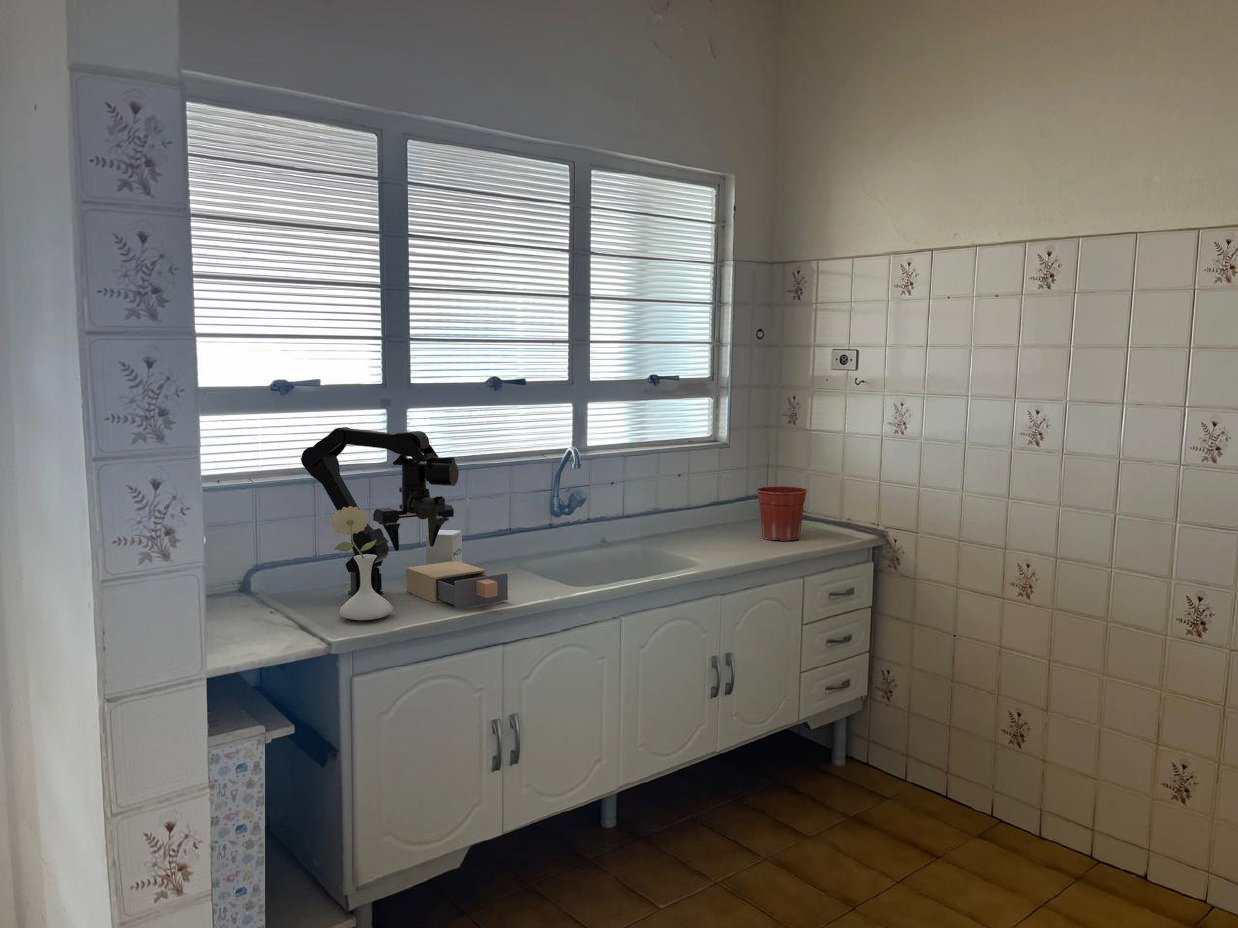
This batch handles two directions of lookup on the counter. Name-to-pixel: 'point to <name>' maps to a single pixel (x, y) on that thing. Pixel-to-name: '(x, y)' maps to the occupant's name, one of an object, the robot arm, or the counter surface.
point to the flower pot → (781, 511)
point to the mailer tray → (472, 589)
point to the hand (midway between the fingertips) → (414, 548)
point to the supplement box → (444, 547)
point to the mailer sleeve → (435, 577)
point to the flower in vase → (360, 568)
